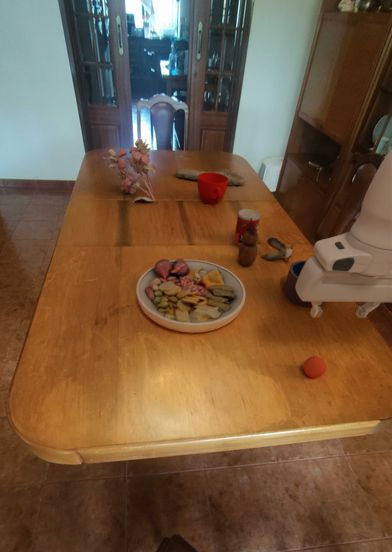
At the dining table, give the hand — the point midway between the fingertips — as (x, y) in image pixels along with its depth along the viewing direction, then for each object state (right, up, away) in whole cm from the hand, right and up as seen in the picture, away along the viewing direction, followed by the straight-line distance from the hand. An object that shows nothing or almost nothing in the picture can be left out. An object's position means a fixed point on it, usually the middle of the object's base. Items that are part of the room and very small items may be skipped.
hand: (337, 315), depth 63 cm
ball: (-1, -11, +10) cm, 15 cm away
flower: (-55, +60, +76) cm, 112 cm away
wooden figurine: (-12, +22, +44) cm, 51 cm away
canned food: (-11, +32, +54) cm, 64 cm away
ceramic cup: (-21, +58, +77) cm, 99 cm away
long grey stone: (-21, +78, +96) cm, 126 cm away
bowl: (-30, +7, +28) cm, 41 cm away
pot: (+5, +10, +34) cm, 36 cm away
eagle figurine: (0, +25, +48) cm, 54 cm away
